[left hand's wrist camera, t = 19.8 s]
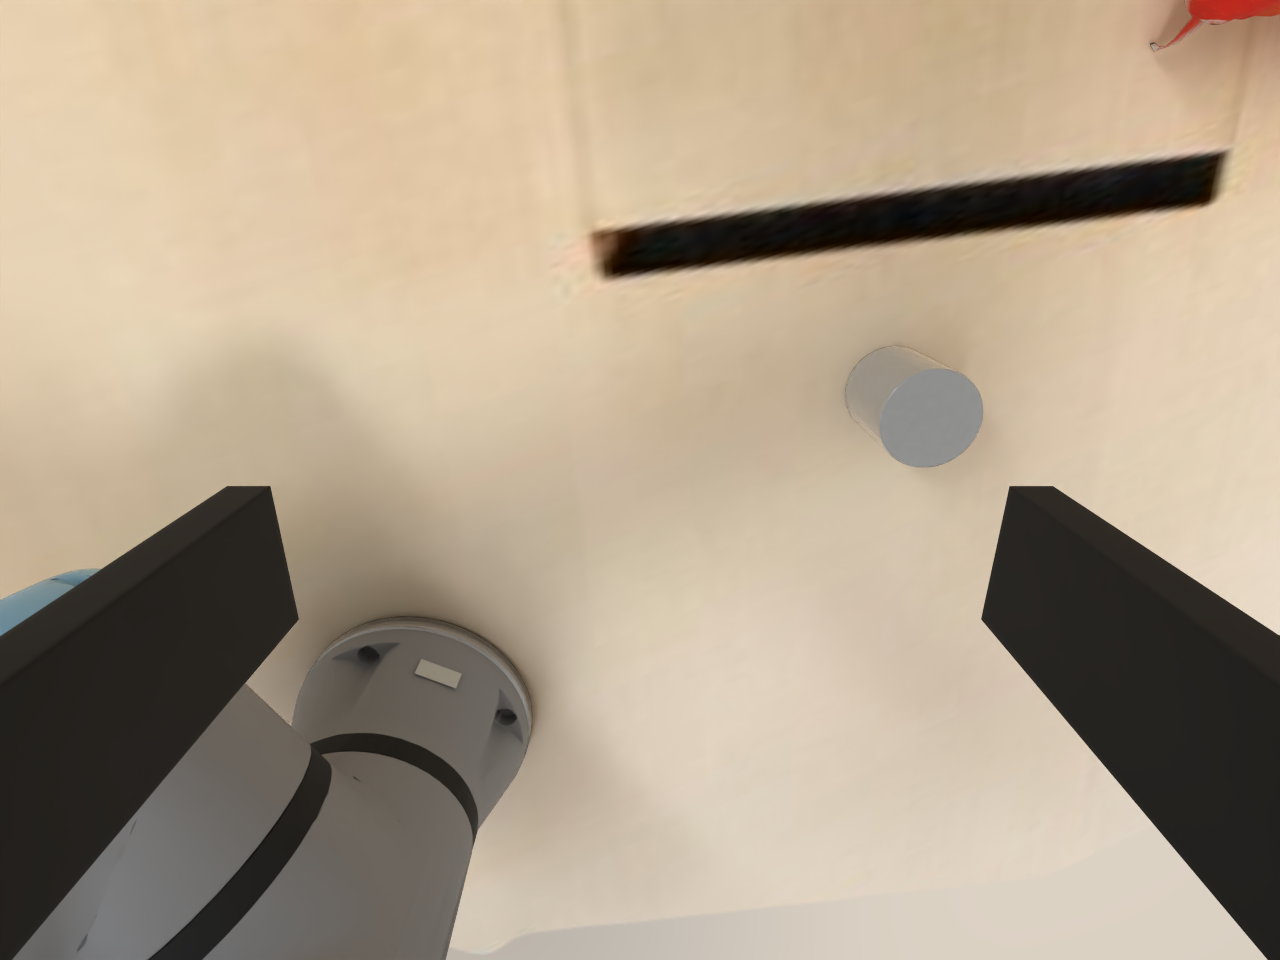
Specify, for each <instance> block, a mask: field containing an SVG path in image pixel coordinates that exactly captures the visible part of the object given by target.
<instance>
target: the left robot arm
mask: <svg viewBox="0 0 1280 960" xmlns="http://www.w3.org/2000/svg"><path fill="white" fill-rule="evenodd" d="M298 620H299V618H298V613H297V609H296V604H295V599H294V595H293V590H292V585H291V581H290V576H289V571H288V567H287V562H286V557H285V553H284V548H283V543H282V539H281V534H280V529H279V525H278V520H277V515H276V511H275V506H274V501H273V497H272V492H271V487H270V486H227V487H225V488H224V489H222V490H221V491H219V492H218V493H216V494H215V495H213V496H212V497H210V498H209V499H207V500H206V501H204V502H203V503H201V504H200V505H198V506H196V507H195V508H193V509H192V510H190V511H189V512H187V513H186V514H184V515H183V516H181V517H180V518H178V519H177V520H175V521H174V522H172V523H171V524H169V525H168V526H166V527H165V528H163V529H162V530H160V531H159V532H157V533H156V534H154V535H153V536H151V537H150V538H148V539H146V540H145V541H143V542H142V543H140V544H139V545H137V546H136V547H134V548H133V549H131V550H130V551H128V552H127V553H125V554H124V555H122V556H121V557H119V558H118V559H116V560H115V561H113V562H112V563H110V564H109V565H107V566H106V567H104V568H103V569H81V570H76V571H71V572H67V573H63V574H60V575H57V576H54V577H51V578H49V579H46V580H44V581H41V582H39V583H37V584H35V585H32V586H30V587H28V588H26V589H23V590H21V591H19V592H17V593H14V594H12V595H10V596H8V597H6V598H3V599H1V600H0V960H446V956H447V952H448V948H449V943H450V939H451V935H452V931H453V927H454V923H455V919H456V915H457V911H458V907H459V903H460V899H461V895H462V891H463V886H464V882H465V878H466V874H467V870H468V866H469V862H470V858H471V854H472V849H473V845H474V842H475V838H476V834H477V831H478V829H479V828H480V826H481V825H482V823H483V822H484V820H485V819H486V818H487V816H488V815H489V813H490V812H491V810H492V809H493V808H494V806H495V805H496V803H497V802H498V800H499V799H500V798H501V796H502V795H503V793H504V792H505V790H506V789H507V788H508V786H509V785H510V783H511V782H512V780H513V779H514V777H515V776H516V774H517V772H518V770H519V768H520V766H521V764H522V761H523V759H524V757H525V754H526V751H527V747H528V743H529V738H530V733H531V727H532V707H531V702H530V697H529V695H528V692H527V689H526V686H525V684H524V682H523V680H522V678H521V677H520V675H519V673H518V672H517V670H516V669H515V668H514V666H513V665H512V664H511V663H510V661H509V660H508V659H507V658H506V657H505V656H504V655H503V654H502V653H501V652H500V651H499V650H497V649H496V648H495V647H494V646H492V645H491V644H490V643H488V642H487V641H486V640H484V639H482V638H481V637H479V636H478V635H476V634H474V633H472V632H470V631H468V630H466V629H463V628H461V627H458V626H456V625H453V624H450V623H447V622H443V621H439V620H434V619H428V618H421V617H394V618H386V619H380V620H376V621H372V622H369V623H365V624H363V625H360V626H358V627H355V628H354V629H352V630H350V631H348V632H346V633H345V634H343V635H341V636H340V637H338V638H337V639H336V640H335V641H334V642H332V643H331V644H330V645H329V646H328V647H327V648H326V649H325V651H324V652H323V653H322V655H321V656H320V657H319V659H318V660H317V661H316V663H315V664H314V666H313V667H312V668H311V670H310V671H309V673H308V675H307V677H306V678H305V681H304V683H303V685H302V688H301V690H300V692H299V695H298V698H297V701H296V706H295V711H294V716H293V721H292V726H290V725H289V724H288V723H287V722H286V721H284V720H283V719H282V718H281V717H280V716H279V715H278V714H277V713H276V712H275V711H274V710H273V709H272V708H271V707H270V706H269V705H268V704H267V703H265V702H264V701H263V700H262V699H261V698H260V697H259V696H258V695H257V694H256V693H255V692H254V691H253V690H252V689H251V688H250V687H249V686H248V685H246V684H245V683H246V681H247V680H248V679H249V678H250V677H251V675H252V674H253V673H254V672H255V671H256V669H257V668H258V667H259V666H260V665H261V664H262V662H263V661H264V660H265V659H266V658H267V656H268V655H269V654H270V653H271V652H272V650H273V649H274V648H275V647H276V646H277V645H278V643H279V642H280V641H281V640H282V639H283V637H284V636H285V635H286V634H287V633H288V631H289V630H290V629H291V628H292V627H293V626H294V624H295V623H296V622H297V621H298ZM981 620H982V621H983V622H984V623H985V624H986V626H987V627H988V628H989V629H990V630H991V631H992V633H993V634H994V635H995V636H996V637H997V639H998V640H999V641H1000V642H1001V643H1002V645H1003V646H1004V647H1005V648H1006V649H1007V650H1008V652H1009V653H1010V654H1011V655H1012V656H1013V658H1014V659H1015V660H1016V661H1017V662H1018V664H1019V665H1020V666H1021V667H1022V668H1023V669H1024V671H1025V672H1026V673H1027V674H1028V675H1029V677H1030V678H1031V679H1032V680H1033V681H1034V683H1035V684H1036V685H1037V686H1038V687H1039V688H1040V690H1041V691H1042V692H1043V693H1044V694H1045V696H1046V697H1047V698H1048V699H1049V700H1050V702H1051V703H1052V704H1053V705H1054V706H1055V707H1056V709H1057V710H1058V711H1059V712H1060V713H1061V715H1062V716H1063V717H1064V718H1065V719H1066V721H1067V722H1068V723H1069V724H1070V725H1071V727H1072V728H1073V729H1074V730H1075V731H1076V732H1077V734H1078V735H1079V736H1080V737H1081V738H1082V740H1083V741H1084V742H1085V743H1086V744H1087V746H1088V747H1089V748H1090V749H1091V750H1092V751H1093V753H1094V754H1095V755H1096V756H1097V757H1098V759H1099V760H1100V761H1101V762H1102V763H1103V765H1104V766H1105V767H1106V768H1107V769H1108V770H1109V772H1110V773H1111V774H1112V775H1113V776H1114V778H1115V779H1116V780H1117V781H1118V782H1119V784H1120V785H1121V786H1122V787H1123V788H1124V789H1125V791H1126V792H1127V793H1128V794H1129V795H1130V797H1131V798H1132V799H1133V800H1134V801H1135V803H1136V804H1137V805H1138V806H1139V807H1140V808H1141V810H1142V811H1143V812H1144V813H1145V814H1146V816H1147V817H1148V818H1149V819H1150V820H1151V822H1152V823H1153V824H1154V825H1155V826H1156V827H1157V829H1158V830H1159V831H1160V832H1161V833H1162V835H1163V836H1164V837H1165V838H1166V839H1167V841H1168V842H1169V843H1170V844H1171V845H1172V847H1173V848H1174V849H1175V850H1176V851H1177V852H1178V854H1179V855H1180V856H1181V857H1182V858H1183V860H1184V861H1185V862H1186V863H1187V864H1188V866H1189V867H1190V868H1191V869H1192V870H1193V871H1194V873H1195V874H1196V875H1197V876H1198V877H1199V879H1200V880H1201V881H1202V882H1203V883H1204V885H1205V886H1206V887H1207V888H1208V889H1209V890H1210V892H1211V893H1212V894H1213V895H1214V896H1215V898H1216V899H1217V900H1218V901H1219V902H1220V904H1221V905H1222V906H1223V907H1224V908H1225V909H1226V911H1227V912H1228V913H1229V914H1230V915H1231V917H1232V918H1233V919H1234V920H1235V921H1236V923H1237V924H1238V925H1239V926H1240V927H1241V929H1242V930H1243V931H1244V932H1245V933H1246V934H1247V936H1248V937H1249V938H1250V939H1251V940H1252V942H1253V943H1254V944H1255V945H1256V946H1257V948H1258V949H1259V950H1260V951H1261V952H1262V953H1263V955H1264V956H1265V957H1266V958H1267V959H1268V960H1280V635H1277V634H1276V633H1274V632H1273V631H1271V630H1270V629H1268V628H1267V627H1265V626H1264V625H1262V624H1261V623H1259V622H1258V621H1256V620H1255V619H1253V618H1252V617H1250V616H1249V615H1247V614H1246V613H1244V612H1243V611H1241V610H1240V609H1238V608H1237V607H1235V606H1234V605H1232V604H1230V603H1229V602H1227V601H1226V600H1224V599H1223V598H1221V597H1220V596H1218V595H1217V594H1215V593H1214V592H1212V591H1211V590H1209V589H1208V588H1206V587H1205V586H1203V585H1202V584H1200V583H1199V582H1197V581H1196V580H1194V579H1193V578H1191V577H1190V576H1188V575H1187V574H1185V573H1184V572H1182V571H1180V570H1179V569H1177V568H1176V567H1174V566H1173V565H1171V564H1170V563H1168V562H1167V561H1165V560H1164V559H1162V558H1161V557H1159V556H1158V555H1156V554H1155V553H1153V552H1152V551H1150V550H1149V549H1147V548H1146V547H1144V546H1143V545H1141V544H1140V543H1138V542H1137V541H1135V540H1134V539H1132V538H1130V537H1129V536H1127V535H1126V534H1124V533H1123V532H1121V531H1120V530H1118V529H1117V528H1115V527H1114V526H1112V525H1111V524H1109V523H1108V522H1106V521H1105V520H1103V519H1102V518H1100V517H1099V516H1097V515H1096V514H1094V513H1093V512H1091V511H1090V510H1088V509H1087V508H1085V507H1084V506H1082V505H1080V504H1079V503H1077V502H1076V501H1074V500H1073V499H1071V498H1070V497H1068V496H1067V495H1065V494H1064V493H1062V492H1061V491H1059V490H1058V489H1056V488H1055V487H1053V486H1010V487H1009V492H1008V497H1007V501H1006V506H1005V511H1004V515H1003V520H1002V525H1001V529H1000V534H999V539H998V543H997V548H996V553H995V557H994V562H993V567H992V571H991V576H990V581H989V585H988V590H987V595H986V599H985V604H984V609H983V613H982V618H981Z"/></svg>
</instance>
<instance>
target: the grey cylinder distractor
mask: <svg viewBox="0 0 1280 960" xmlns="http://www.w3.org/2000/svg"><path fill="white" fill-rule="evenodd" d="M845 398H846V404H847V408H848V410H849V413H850V414H851V416H852V417H853V419H854V420H855V421H856V422H857V423H858V424H859V425H860V426H861V427H862V428H863V429H864V430H865V431H866V432H867V433H868V434H869V435H871V436H872V437H873V438H874V439H875V440H876V441H877V442H878V443H879V444H880V445H881V446H882V447H883V448H884V449H885V450H886V451H887V452H888V453H889V454H890V455H891V456H892V457H894V458H895V459H896V460H898V461H899V462H901V463H903V464H906V465H909V466H913V467H922V468H924V467H933V466H938V465H941V464H944V463H946V462H949V461H951V460H952V459H954V458H956V457H957V456H959V455H960V454H961V453H962V452H964V451H965V450H966V449H967V448H968V447H969V445H970V444H971V443H972V442H973V440H974V439H975V437H976V435H977V433H978V431H979V429H980V426H981V422H982V417H983V404H982V399H981V396H980V393H979V391H978V389H977V388H976V386H975V385H974V383H973V382H972V381H971V380H970V379H968V378H967V377H966V376H964V375H963V374H961V373H959V372H957V371H955V370H953V369H951V368H949V367H947V366H945V365H943V364H941V363H939V362H937V361H935V360H933V359H931V358H929V357H927V356H925V355H923V354H921V353H919V352H917V351H915V350H913V349H910V348H907V347H902V346H890V347H884V348H881V349H878V350H876V351H874V352H872V353H870V354H869V355H867V356H866V357H865V358H863V359H862V360H861V361H860V362H859V363H858V364H857V365H856V367H855V368H854V369H853V371H852V373H851V375H850V377H849V379H848V382H847V385H846V393H845Z"/></svg>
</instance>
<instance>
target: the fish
mask: <svg viewBox="0 0 1280 960" xmlns="http://www.w3.org/2000/svg"><path fill="white" fill-rule="evenodd" d="M1184 1H1185V6H1186V10H1187V11H1188V12H1189V13H1190V14H1191V15H1192V18H1191V19H1190V20H1189V22H1188V23H1187V24H1186V25H1185V26H1184V27H1183V29H1182V30H1181V31H1180V32H1179V33H1178V34H1177V36H1176V37H1175V38H1174V39H1173V40H1172V41H1171V42H1170V43H1168V44H1167V45H1166V46H1158V45H1157V44H1156V43H1155V42H1154V43H1150V45H1151V47H1152V49H1153V51H1157V50H1160V49H1162V48H1165V47H1168V46H1170V45H1173V44H1175V43H1177V42H1179V41H1180V40H1182V39H1183V38H1185V37H1187V36H1188V35H1190V34H1191V33H1193V32H1194V31H1195V30H1196V29H1198V28H1199V27H1200V26H1201V25H1202V24H1203V23H1204V22H1205V23H1207V24H1212V25H1219V24H1223V23H1226V22H1228V21H1230V20H1233V19H1246V18H1249V17H1252V16H1274V15H1279V14H1280V0H1184Z"/></svg>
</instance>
